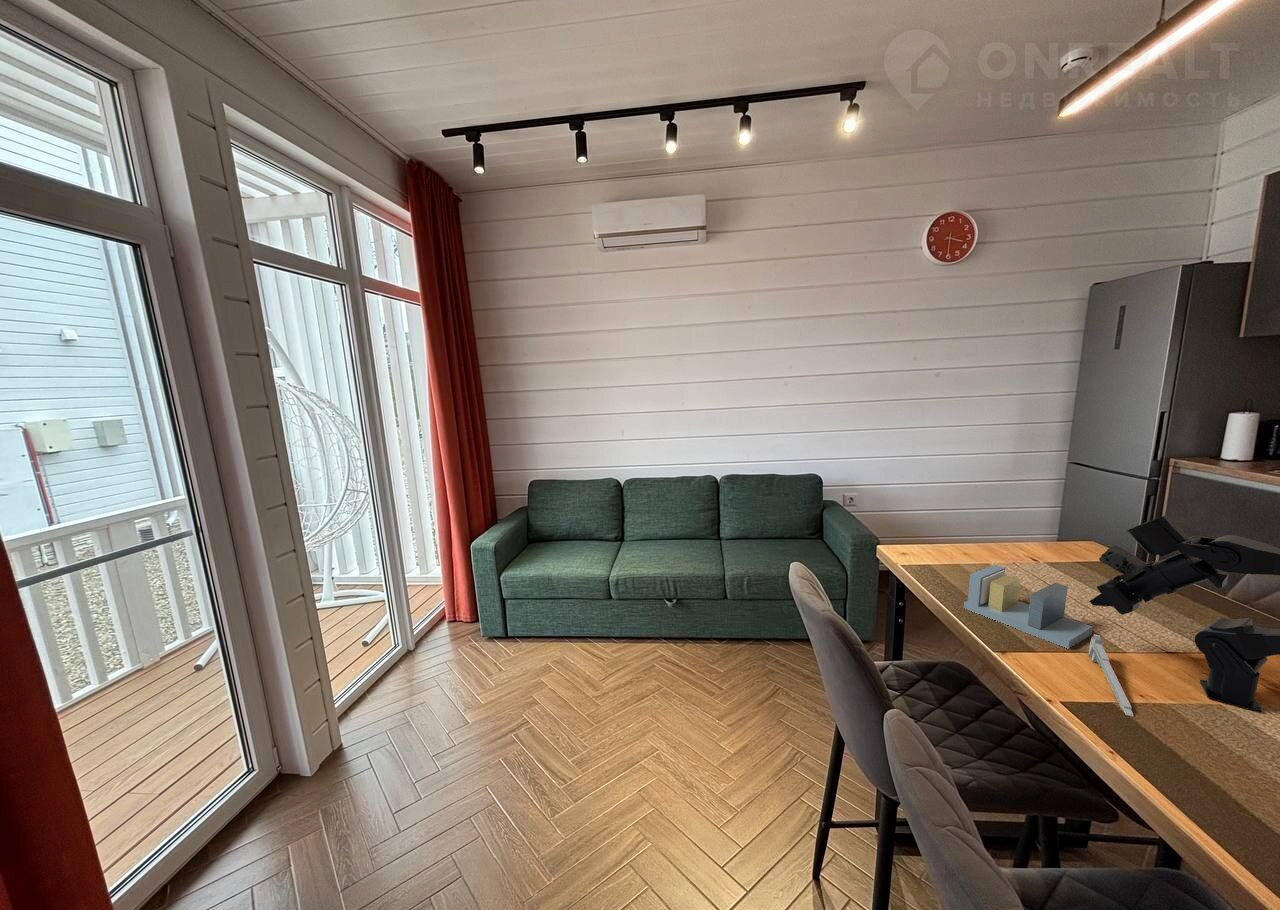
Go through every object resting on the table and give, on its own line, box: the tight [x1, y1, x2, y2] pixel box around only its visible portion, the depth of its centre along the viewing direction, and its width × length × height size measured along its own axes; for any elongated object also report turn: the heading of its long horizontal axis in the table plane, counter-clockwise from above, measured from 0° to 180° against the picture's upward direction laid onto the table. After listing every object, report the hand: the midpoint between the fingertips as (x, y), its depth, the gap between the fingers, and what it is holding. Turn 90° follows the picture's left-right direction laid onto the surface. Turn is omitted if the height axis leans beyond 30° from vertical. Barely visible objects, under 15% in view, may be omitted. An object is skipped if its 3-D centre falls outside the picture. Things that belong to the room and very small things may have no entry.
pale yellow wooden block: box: [988, 574, 1021, 612], centre depth 121 cm, size 3×8×7 cm, turn 118°
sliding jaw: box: [1028, 582, 1068, 629], centre depth 113 cm, size 3×12×8 cm, turn 118°
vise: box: [963, 564, 1093, 650], centre depth 117 cm, size 22×12×10 cm, turn 28°
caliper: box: [1088, 634, 1134, 717], centre depth 94 cm, size 20×1×6 cm, turn 151°
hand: (1091, 603), depth 106 cm, fingers closed
